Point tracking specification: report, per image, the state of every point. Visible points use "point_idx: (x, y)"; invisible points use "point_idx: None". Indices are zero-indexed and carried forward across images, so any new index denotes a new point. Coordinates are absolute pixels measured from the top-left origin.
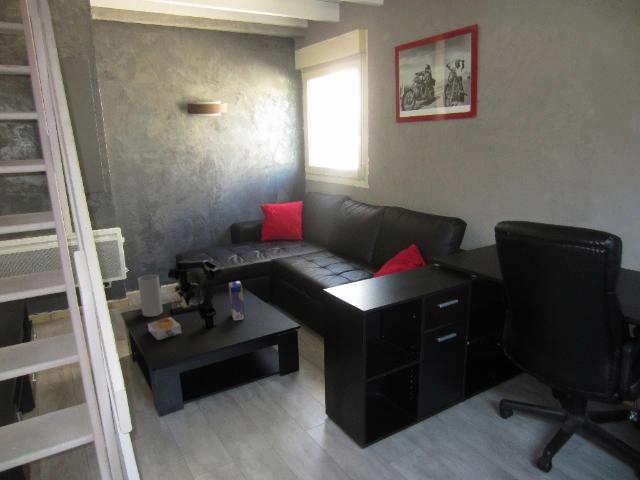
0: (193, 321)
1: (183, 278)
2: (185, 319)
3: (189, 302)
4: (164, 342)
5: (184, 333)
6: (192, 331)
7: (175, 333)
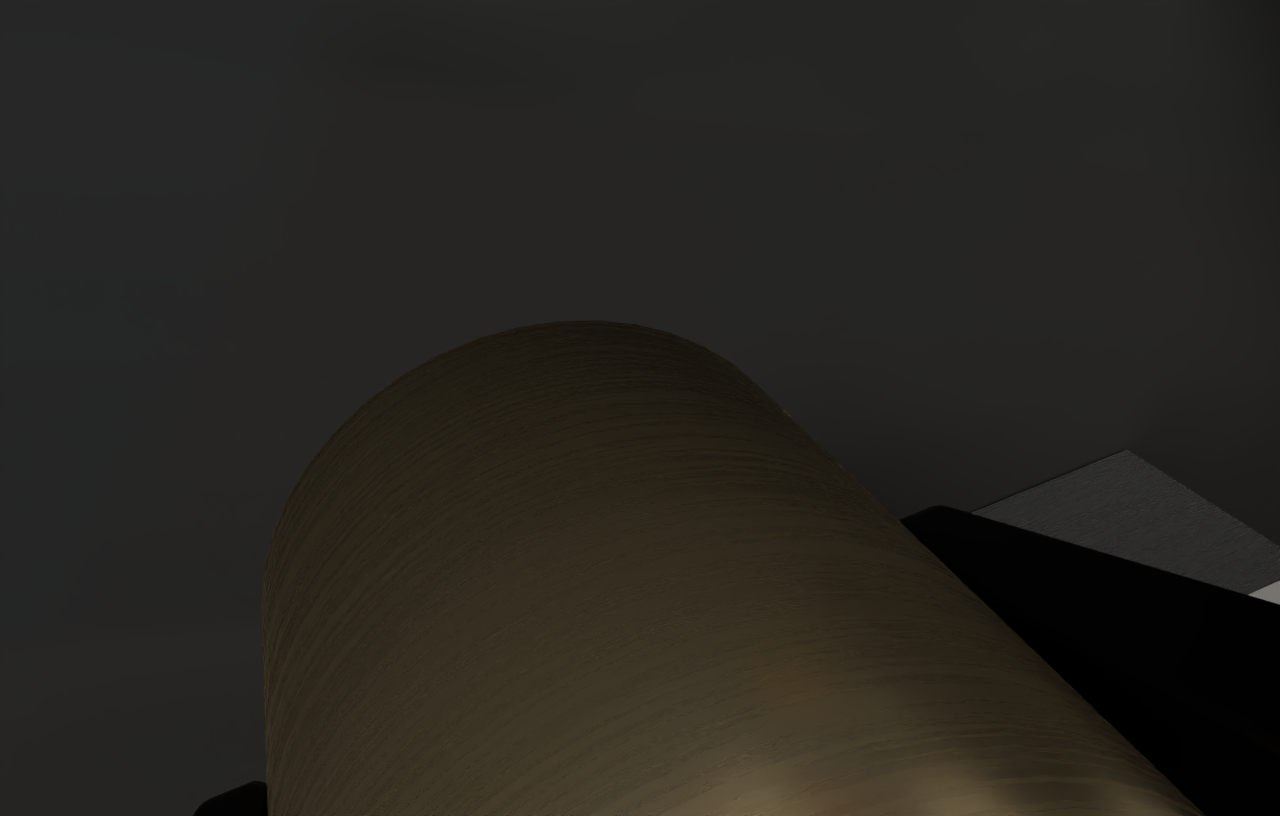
0: (520, 47)
1: None
2: (176, 329)
3: (913, 535)
4: None
5: (1186, 380)
6: (1219, 175)
7: None
